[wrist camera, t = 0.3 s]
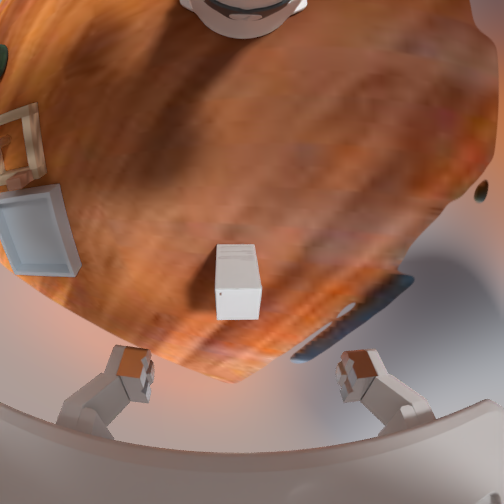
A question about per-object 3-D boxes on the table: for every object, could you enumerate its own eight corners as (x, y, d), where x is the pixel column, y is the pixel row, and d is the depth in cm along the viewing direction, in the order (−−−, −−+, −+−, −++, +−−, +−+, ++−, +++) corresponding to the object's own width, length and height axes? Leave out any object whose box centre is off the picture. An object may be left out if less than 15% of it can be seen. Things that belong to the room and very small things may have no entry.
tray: (-2, 193, 42) (-13, 201, 39) (59, 183, 44) (49, 192, 41) (22, 264, 53) (14, 274, 50) (82, 265, 55) (75, 276, 51)
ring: (-9, 119, 33) (-31, 128, 27) (37, 101, 34) (14, 108, 29) (2, 181, 41) (-18, 195, 35) (47, 172, 42) (27, 187, 36)
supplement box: (216, 274, 58) (215, 320, 48) (216, 243, 54) (213, 288, 44) (253, 274, 59) (258, 320, 48) (255, 243, 55) (262, 288, 44)
